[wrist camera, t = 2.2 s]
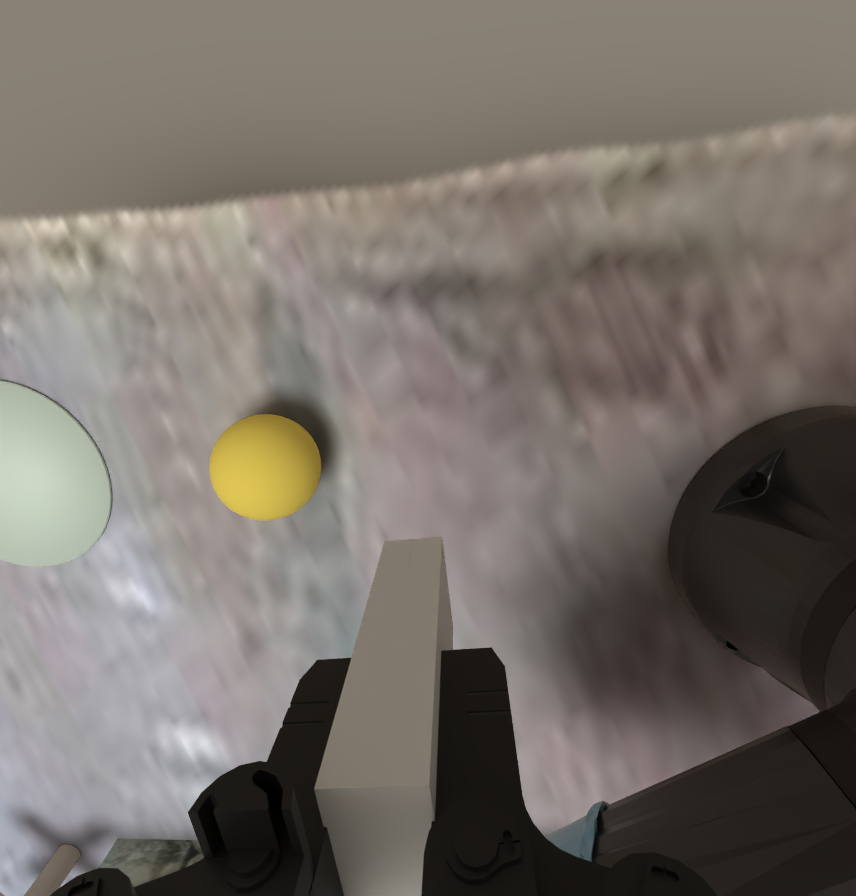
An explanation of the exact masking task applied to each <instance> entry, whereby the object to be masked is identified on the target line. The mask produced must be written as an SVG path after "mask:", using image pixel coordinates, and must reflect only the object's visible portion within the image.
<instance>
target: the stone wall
mask: <svg viewBox="0 0 856 896" xmlns="http://www.w3.org/2000/svg"><path fill="white" fill-rule="evenodd" d="M203 858H204V855H203V853H202V850H201V847H200V844H199V842H198V841H196V840H149V839H117V840H116V842H115V844H114V845H113V847H112V848H111V850H110V852H109V853H108V855H107V856H106V858H105V860H104V861H103V863H102V864H101V866H100V868H118V869H119V870H121V871H122V872H123V873H124V874H126V875H127V876H128V877H129V878H130V880H131V883H132V885H133V887H136V886H139V885H141V884H144V883H146V882H149V881H152V880H154V879H157V878H160V877H162V876H165V875H167V874H170V873H173V872H175V871H178V870H181V869H183V868H186V867H188V866H190V865H192V864H194V863H196V862H198V861H200V860H202V859H203Z"/></svg>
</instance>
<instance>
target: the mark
mask: <svg viewBox="0 0 856 896" xmlns="http://www.w3.org/2000/svg"><path fill="white" fill-rule="evenodd" d="M111 506H112V491H111V483H110V478H109V475H108V471H107V468H106V465H105V463H104V460H103V458H102V455H101V454H100V452H99V450H98V448H97V446H96V444H95V443H94V441H93V440H92V439H91V437H90V436H89V434H88V433H87V432H86V430H85V429H84V428H83V427H82V426H81V425H80V423H79V422H78V421H77V420H76V419H75V418H74V417H73V416H72V415H70V414H69V413H68V412H67V411H66V410H65V409H63V408H62V407H61V406H60V405H58V404H57V403H56V402H54V401H53V400H51V399H49V398H48V397H46V396H44V395H43V394H41V393H39V392H37V391H34V390H32V389H30V388H28V387H25V386H22V385H19V384H16V383H12V382H7V381H3V380H0V559H1V560H4V561H7V562H10V563H14V564H19V565H24V566H34V567H40V566H52V565H58V564H62V563H65V562H68V561H71V560H73V559H75V558H77V557H79V556H80V555H82V554H83V553H85V552H86V551H88V550H89V549H90V548H91V547H92V546H93V545H94V544H95V543H96V542H97V541H98V539H99V538H100V537H101V535H102V534H103V532H104V530H105V528H106V526H107V523H108V520H109V517H110V512H111Z"/></svg>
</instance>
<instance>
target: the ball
mask: <svg viewBox="0 0 856 896" xmlns="http://www.w3.org/2000/svg"><path fill="white" fill-rule="evenodd" d="M209 470H210V478H211V482H212V485H213V488H214V490H215V492H216V494H217V495H218V497H219V498H220V499H221V501H222V502H223V503H224V504H225V505H226V506H227V507H228V508H230V509H231V510H232V511H234V512H236V513H237V514H240V515H242V516H244V517H247V518H250V519H255V520H274V519H279V518H282V517H286V516H288V515H290V514H292V513H294V512H295V511H297V510H299V509H300V508H301V507H302V506H304V505H305V504H306V503H307V501H308V500H309V499H310V498H311V497H312V495H313V494H314V492H315V490H316V488H317V486H318V483H319V480H320V475H321V458H320V454H319V450H318V447H317V445H316V443H315V441H314V440H313V438H312V437H311V435H310V434H309V433H308V432H307V431H306V430H305V429H304V428H303V427H302V426H301V425H299V424H298V423H296V422H294V421H292V420H290V419H288V418H285V417H282V416H278V415H272V414H261V415H254V416H250V417H247V418H244V419H242V420H240V421H238V422H236V423H234V424H233V425H232V426H230V427H229V428H228V429H227V430H226V431H224V433H223V434H222V435H221V436H220V438H219V439H218V440H217V442H216V444H215V446H214V448H213V451H212V454H211V458H210V466H209Z"/></svg>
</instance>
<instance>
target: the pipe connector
mask: <svg viewBox="0 0 856 896" xmlns="http://www.w3.org/2000/svg"><path fill="white" fill-rule="evenodd" d="M79 857H80V852H79V850H78V849H77V848H76V847H74V846H72V845H67V844H65V845H61V846H60V847H59V848H58V850H57V851H56V852H55V854H54V855H53V856H52V858H51V859H50V861H49V862H48V863H47V865H46V866H45V868H44V869H43V870H42V872H41V873H40V874H39V876H38V877H37V879H36V880H35V881H34V883H33V884H32V886H31V887H30V888H29V890H28V891H27V892H26V894H25V895H24V896H50V895H51V894H52V893H53V892H54V891H56V890H57V889H59V887H60V886H61V884H62V883H63V881H64V880H65V878H66V877H67V875H68V874H69V872H70V871H71V869H72V868H73V866H74V865H75V863H76V862H77V860H78V859H79ZM0 896H4V895H3V894H2V893H0Z"/></svg>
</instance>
